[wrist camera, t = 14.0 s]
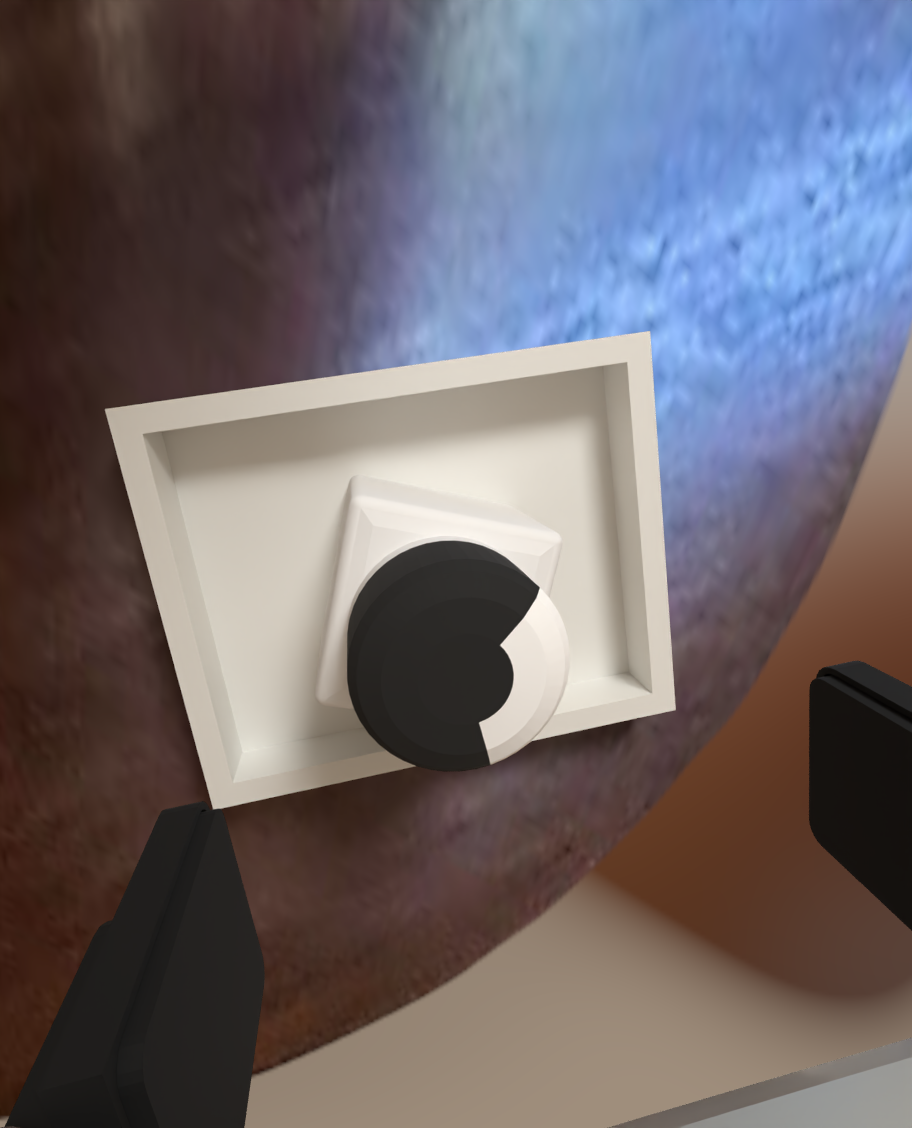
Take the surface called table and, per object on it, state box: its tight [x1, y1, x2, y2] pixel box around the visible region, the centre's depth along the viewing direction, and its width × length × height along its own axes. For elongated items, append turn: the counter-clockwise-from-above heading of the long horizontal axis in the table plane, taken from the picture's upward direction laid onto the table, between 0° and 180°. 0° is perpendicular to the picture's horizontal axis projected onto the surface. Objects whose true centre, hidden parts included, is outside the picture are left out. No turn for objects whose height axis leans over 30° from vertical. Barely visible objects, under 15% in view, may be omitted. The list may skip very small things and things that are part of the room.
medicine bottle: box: [315, 475, 570, 771], centre depth 23 cm, size 7×7×12 cm
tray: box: [105, 331, 676, 810], centre depth 27 cm, size 16×20×3 cm
